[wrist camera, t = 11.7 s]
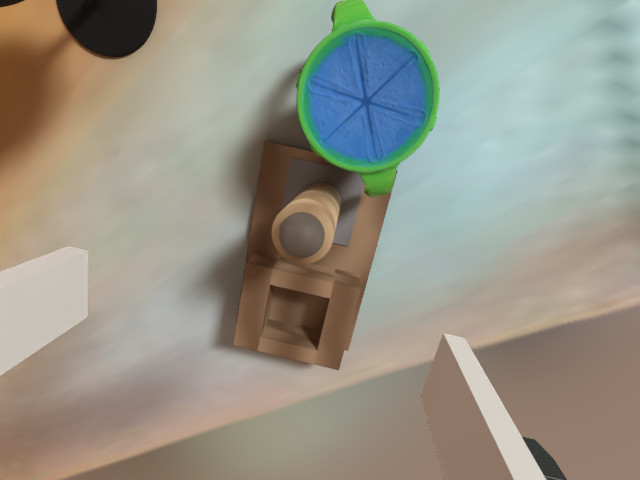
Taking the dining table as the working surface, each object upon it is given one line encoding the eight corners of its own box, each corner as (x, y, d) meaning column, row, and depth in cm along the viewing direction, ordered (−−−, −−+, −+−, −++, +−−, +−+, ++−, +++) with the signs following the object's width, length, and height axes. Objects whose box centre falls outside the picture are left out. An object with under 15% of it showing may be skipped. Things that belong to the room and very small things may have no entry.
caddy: (238, 320, 43) (224, 343, 38) (267, 141, 36) (254, 141, 32) (348, 346, 43) (347, 372, 38) (396, 169, 36) (402, 174, 31)
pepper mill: (296, 218, 37) (260, 264, 23) (304, 178, 36) (271, 201, 22) (335, 227, 37) (323, 279, 23) (345, 187, 36) (338, 216, 22)
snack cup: (417, 183, 36) (441, 199, 27) (319, 192, 38) (307, 211, 28) (412, 16, 32) (439, -38, 22) (302, 32, 33) (281, -12, 24)
